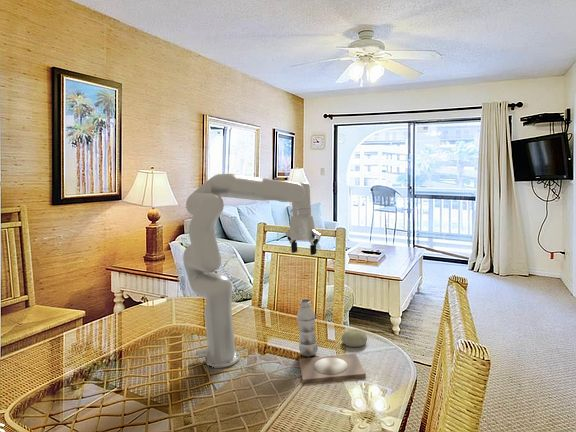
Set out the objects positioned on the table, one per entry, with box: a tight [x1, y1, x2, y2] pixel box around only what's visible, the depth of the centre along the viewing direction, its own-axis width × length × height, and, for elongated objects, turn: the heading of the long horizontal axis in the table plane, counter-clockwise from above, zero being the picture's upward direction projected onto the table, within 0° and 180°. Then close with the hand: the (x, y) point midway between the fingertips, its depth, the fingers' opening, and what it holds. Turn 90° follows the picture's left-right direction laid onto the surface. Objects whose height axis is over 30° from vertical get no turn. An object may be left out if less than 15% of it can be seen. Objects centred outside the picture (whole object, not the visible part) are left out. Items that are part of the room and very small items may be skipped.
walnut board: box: [298, 353, 367, 384], centre depth 139 cm, size 20×14×1 cm
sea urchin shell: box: [341, 328, 368, 348], centre depth 157 cm, size 9×8×8 cm
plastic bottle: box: [296, 298, 319, 357], centre depth 149 cm, size 6×7×20 cm
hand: (303, 253), depth 174 cm, fingers open, 9 cm apart
